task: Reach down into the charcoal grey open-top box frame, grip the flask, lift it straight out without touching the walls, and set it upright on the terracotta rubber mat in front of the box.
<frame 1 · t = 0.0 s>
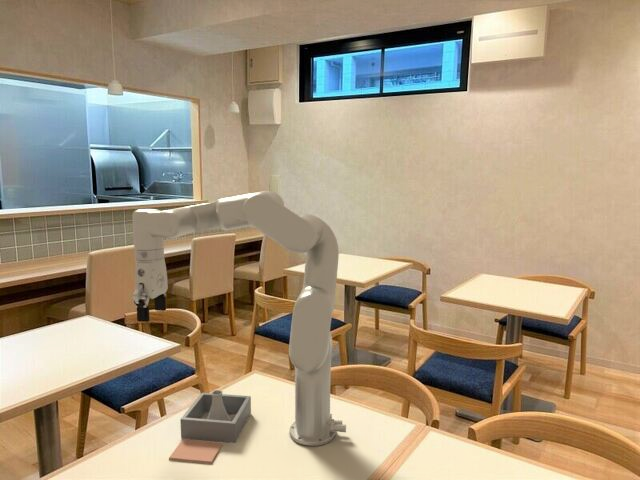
hand: (152, 315, 129), 31 cm above the table, tool pointing down, fingers open, 9 cm apart
box frame: (217, 425, 131), on the table
flask: (217, 426, 131), resting in box frame
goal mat: (196, 452, 119), on the table
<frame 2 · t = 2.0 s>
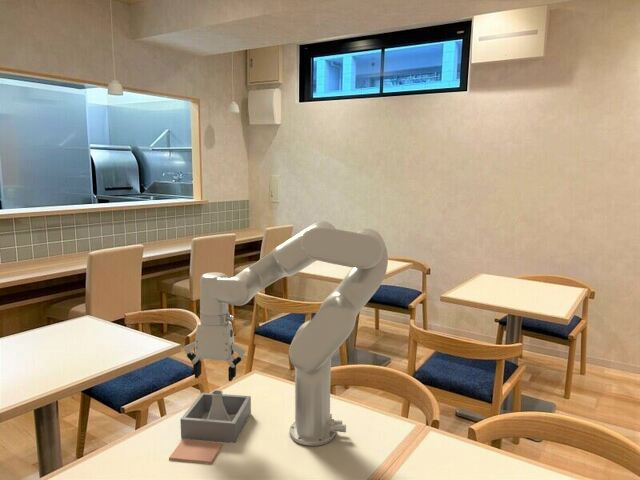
hand: (214, 377, 129), 14 cm above the table, tool pointing down, fingers open, 9 cm apart
nothing on the table moved.
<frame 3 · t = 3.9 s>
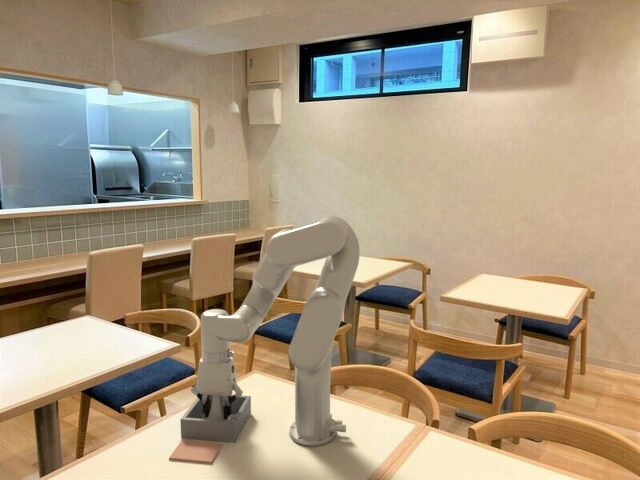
hand: (217, 415, 131), 3 cm above the table, tool pointing down, fingers closed on flask, 4 cm apart
flask: (217, 426, 131), resting in box frame, touching gripper
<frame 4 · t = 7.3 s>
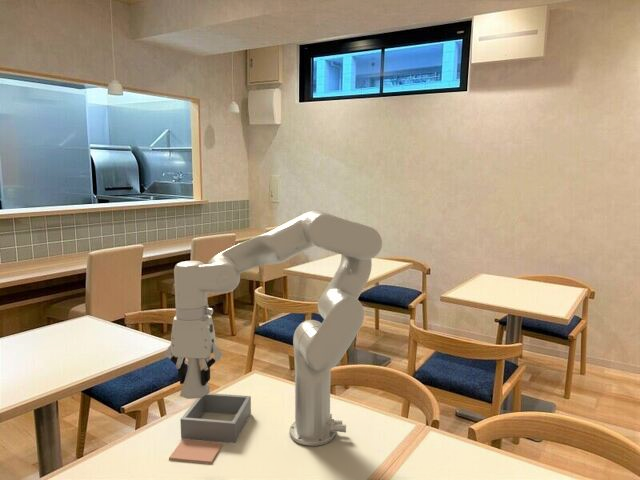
hand: (194, 381, 116), 19 cm above the table, tool pointing down, fingers closed on flask, 4 cm apart
flask: (195, 393, 116), point 16 cm above the table, touching gripper
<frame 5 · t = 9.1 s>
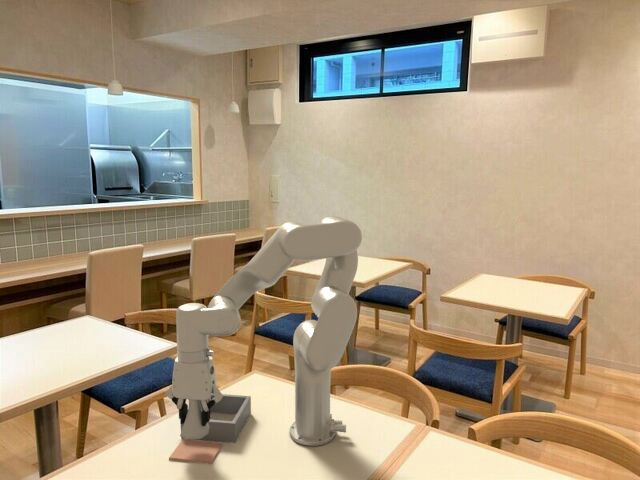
hand: (194, 421, 117), 8 cm above the table, tool pointing down, fingers closed on flask, 4 cm apart
flask: (195, 433, 118), point 5 cm above the table, touching gripper
when the fingers open (5 cm above the table, at t = 10.7 s): flask drops 1 cm, resting on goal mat.
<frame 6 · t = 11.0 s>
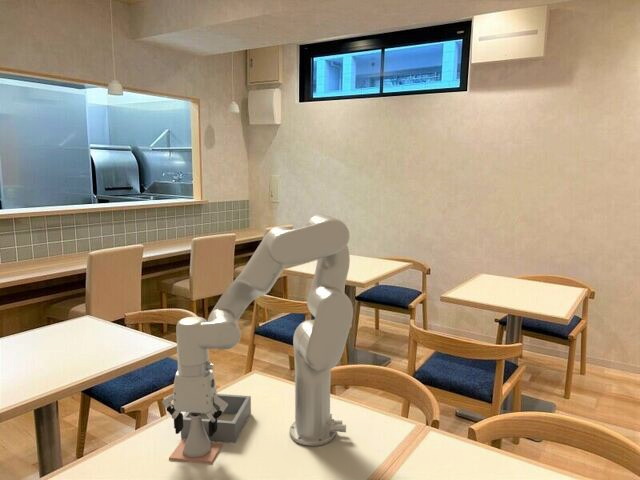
hand: (195, 432, 118), 6 cm above the table, tool pointing down, fingers open, 8 cm apart
flask: (197, 450, 119), resting on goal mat
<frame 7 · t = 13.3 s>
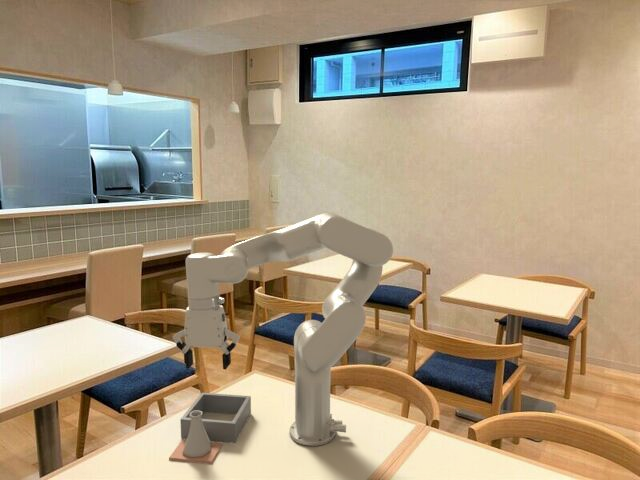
hand: (207, 366, 119), 21 cm above the table, tool pointing down, fingers open, 9 cm apart
nothing on the table moved.
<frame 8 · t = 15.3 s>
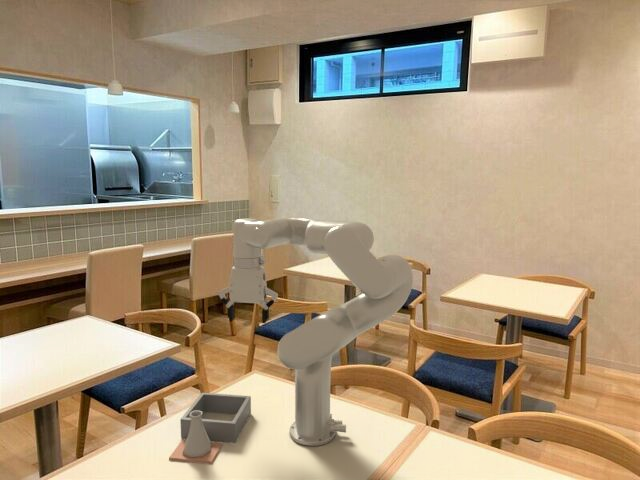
hand: (248, 320, 134), 28 cm above the table, tool pointing down, fingers open, 9 cm apart
nothing on the table moved.
at the end: flask 0.2 cm off-centre on the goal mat, point 0.4 cm above the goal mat's base; flask tilted 0°; the gripper is holding nothing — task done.
